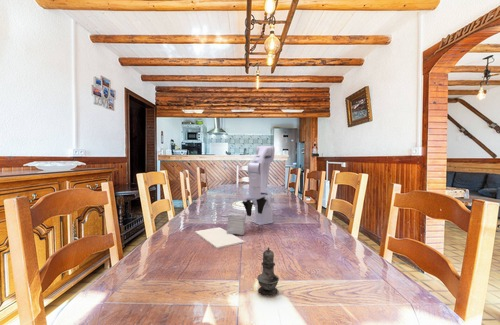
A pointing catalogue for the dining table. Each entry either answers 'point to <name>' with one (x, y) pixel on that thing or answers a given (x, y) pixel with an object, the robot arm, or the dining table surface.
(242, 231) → the medicine box
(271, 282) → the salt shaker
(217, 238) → the mat
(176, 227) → the dining table surface
